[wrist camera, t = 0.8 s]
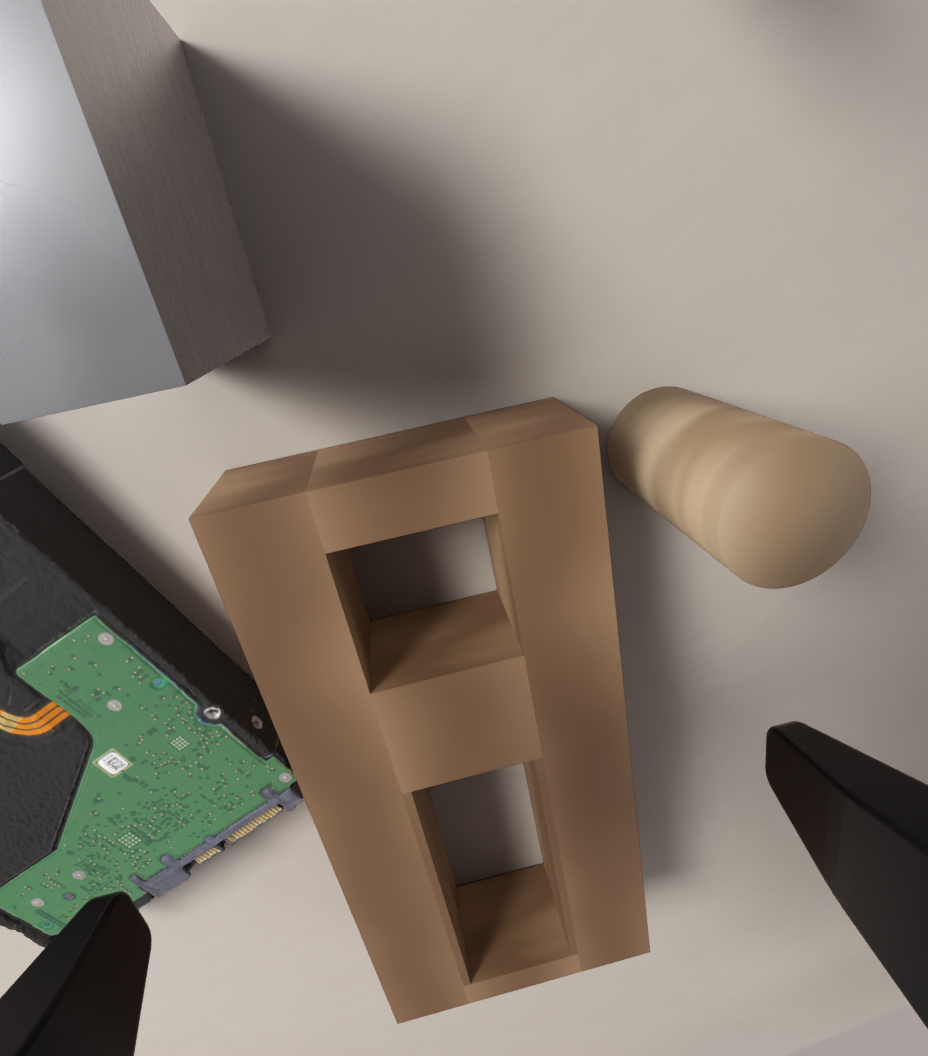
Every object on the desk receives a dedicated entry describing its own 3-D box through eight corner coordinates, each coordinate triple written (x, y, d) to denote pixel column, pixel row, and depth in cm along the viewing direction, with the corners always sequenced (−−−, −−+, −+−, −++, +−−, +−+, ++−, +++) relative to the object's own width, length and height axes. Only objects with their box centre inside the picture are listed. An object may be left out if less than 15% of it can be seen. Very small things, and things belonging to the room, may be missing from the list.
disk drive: (-350, 598, 16) (100, 886, 21) (-494, 659, 13) (61, 969, 19) (-64, 361, 14) (330, 731, 20) (-160, 377, 12) (324, 797, 17)
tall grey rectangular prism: (179, 39, 12) (-61, -267, 5) (272, 337, 15) (186, 384, 8) (62, 60, 12) (-335, -224, 5) (175, 357, 15) (1, 424, 8)
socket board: (552, 397, 16) (597, 425, 13) (612, 862, 24) (650, 951, 21) (225, 471, 16) (188, 518, 13) (393, 922, 23) (397, 1024, 20)
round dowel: (711, 375, 17) (878, 421, 11) (713, 481, 18) (864, 568, 12) (602, 400, 17) (717, 458, 11) (612, 505, 18) (720, 604, 12)
